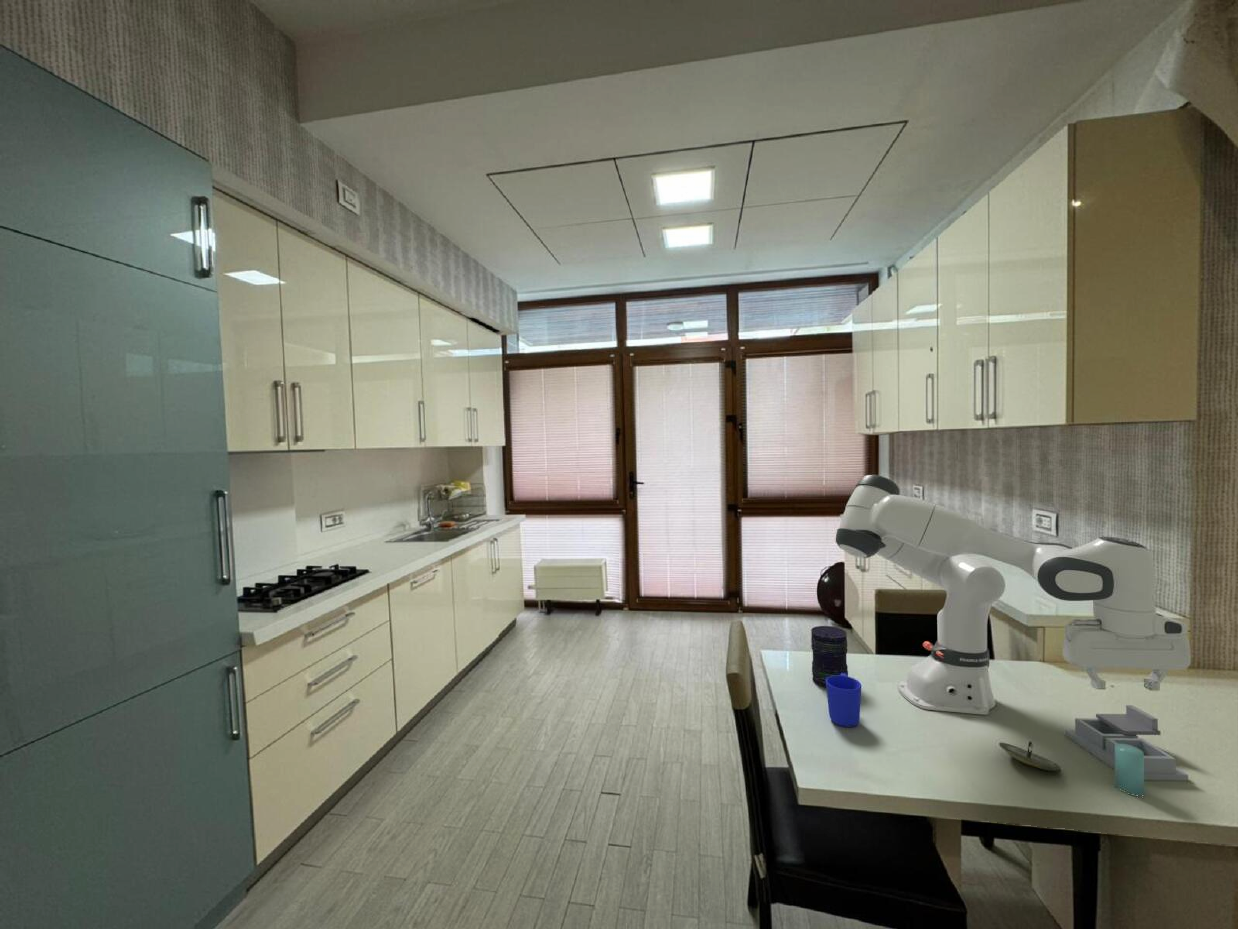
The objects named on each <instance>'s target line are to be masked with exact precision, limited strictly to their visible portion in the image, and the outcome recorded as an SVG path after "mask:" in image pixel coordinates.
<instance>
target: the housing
mask: <svg viewBox="0 0 1238 929" xmlns="http://www.w3.org/2000/svg"><path fill="white" fill-rule="evenodd" d="M1074 721H1075V722H1074V723H1075V724H1074V725H1075V726H1074V727H1075V729H1065V732H1064V733H1065V735H1064V736H1066V737H1067V738H1068V739H1070V740H1072V741H1073V742H1074V743H1076V744H1077V745H1078V746H1080V747H1081V748H1083V749H1084V750H1086V751H1087V752H1089V753H1090V754H1091V755H1093V756H1095V757H1096V758H1098V760H1100V761H1102V762H1103V763H1104V764H1106V765H1107V766H1108V767H1110V768H1112V769H1114V771H1115V744H1118V743H1121V744H1127V745H1131V746H1134V747H1136V748H1138V749H1140V750H1142V751H1143V753H1144V781H1175V782H1176V781H1185V782H1186V781H1187V782H1188V781H1189V774H1188V773H1186V772H1184V771H1182V769H1180V768H1178V767H1177V761H1176V760H1177V759H1176V758H1175V757H1173V755H1170V754H1169V753H1167V752H1165V751H1163V750H1162V749H1160V748H1159V747H1157V746H1155V745H1154V744H1151V742H1149V741H1147V740H1146V739H1144V738H1142V737H1141V738H1140V737H1139V735H1124V734H1123V733H1121V732H1119V731H1118V730H1116V729H1114V728H1113V727H1111V726H1110V725H1108V724H1106V723H1105V722H1103V721H1101V720H1100V719H1098V718H1090V717H1089V718H1085V717H1084V718H1082V717H1081V718H1079V717H1077V718H1076V717H1075V718H1074Z"/></svg>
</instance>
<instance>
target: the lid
mask: <svg viewBox="0 0 1238 929" xmlns="http://www.w3.org/2000/svg"><path fill="white" fill-rule="evenodd" d="M998 745H999V747H1000V748H1001V749H1002V750H1003V751H1005V752H1006V753H1007V754H1008V755H1009V756H1010V757H1012V758H1013V759H1015V760H1017V761H1020V762H1021V763H1023V764H1025V765H1029V766H1032V767H1035V768H1037V769H1041V770H1045V771H1054V772H1058V773H1061V772H1062V767H1060V765H1058V764H1057V763H1055V762H1053V761H1051V760H1050V759H1047V758H1045V757H1044V756H1040V755H1038V754H1035V753H1033V749H1031V750H1030V748H1033V746H1034V745H1033V742H1032V741H1031V740H1030V741H1028V747H1027V750H1026V749H1023V748H1021V747H1018V746H1015V745H1014V744H1013V745H1012V744H1009V743H1006V742H999V744H998Z"/></svg>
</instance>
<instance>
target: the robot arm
mask: <svg viewBox="0 0 1238 929" xmlns="http://www.w3.org/2000/svg"><path fill="white" fill-rule="evenodd" d="M844 508H845V510H844V511H843V514H842V516H841V520H840V524H839V527H838V528H837V530H836V533H835V534H836V535H835V543H836V545H837V546H838V548H840V549H841V550H843V552H845V553H847V554H848V555H850V556H852V557H857V558H861V559H862V558H863V559H869V558H871V557H873V556H875V555H878V556H879V557H881V558H883V559H885V560H887V561H889V562H891V563H893V564H895V565H897V566H899V567H901V568H903V569H904V570H907V571H909V572H910V573H912V574H913V575H914V574H915V575H916V576H918V577H920V578H922V579H924V580H926V581H928V582H930V583H931V584H933V585H936V586H937V587H939V588H941V589H942V590H945V592H946V598H945V602H944V605H943V607H942V609H940V610H939V611H938V612H937V616H936V617H937V618H936V620H937V622H936V624H937V626H936V627H937V640H936V641H935V644H934V645H933V643H931V642H930V641H928V640H927V641H924V642H922V646H923V647H924V649H926V650H927V651H931V653H930V655H928V656H927V657H925V658H924V659H922V660H920V661H919V662H917V663H916V664H914V665H911V666H910V668H909V669H908V672H907V673H908V674H907V677H906V681H900V682H898V685H897V689H898V691H899V693H900V694H901V695H902V696H903V697H904V698H905V699H906V700H907V701H908V702H910V703H911V704H913V705H914V706H915V707H918V708H920V709H922V710H928V711H929V710H931V711H940V712H951V713H952V712H953V713H961V714H972V715H985V716H987V715H989V713H990V710H991V709H994V707H995V706H996V705H997V702H996V700H995V697H994V693H993V691H992V690H993V689H992V686H991V681H990V675H989V674H990V672H989V667H990V649H989V648H988V619H989V615H990V611H991V608H992V606H993V604H994V603H995V602H996V601H999V599H1001V597H1002V596H1003V594H1004V592H1005V591H1006V590H1005V589H1006V581H1005V578H1004V576H1003V575H1002V573H1001V572H1000V571H999V570H998V569H996V568H995V566H992V565H991V564H989V563H988V562H986V561H984V560H982V559H979V558H976V557H974V556H970V555H978V556H983V557H987V558H989V559H993V560H996V561H998V562H1002V563H1005V564H1007V565H1010V566H1014V567H1015V568H1019V569H1020V570H1023V571H1024V572H1026V573H1027V574H1028V575H1030V576H1031V577H1032V578H1033V579H1035V581H1036V582H1037V584H1038V585H1039V587H1040V588H1041V589H1042V590H1043V591H1044V592H1045V593H1046V594H1048V595H1050V596H1052V597H1053V598H1055V599H1058V600H1061V601H1065V602H1066V601H1067V602H1068V601H1069V602H1086V601H1087V602H1088V601H1092V613H1093V614H1092V616H1093V617H1092V619H1078V618H1077V619H1072V621H1070V622H1068V623H1067V624H1065V627H1064V641H1063V646H1062V657H1063V659H1064V660H1065V661H1066V662H1067V663H1068V664H1071V665H1072V666H1074V667H1075V668H1079V669H1081V668H1082V669H1084V671H1085V673H1086V674H1087V675H1088V676H1089V678H1090V686H1091V687H1092V688H1093V689H1095V690H1106V689H1107V687H1106V684H1107V683H1106V682H1107V681H1106V680H1104V679H1102V678H1100V677H1099V675H1098V674H1099V673H1100V672H1101V671H1100V669H1123V670H1124V669H1129V670H1134V669H1135V670H1150V671H1151V673H1150V674H1149V676H1148V677H1147V678H1143V686H1144V688H1145V689H1146V690H1149V691H1153V692H1154V691H1155V692H1158V691H1160V690H1161V683H1162V682H1163V680H1165V678H1166V676H1167V675H1168V670H1178V671H1179V670H1181V671H1182V670H1187V669H1188V667H1189V666H1191V662H1192V661H1191V660H1192V659H1191V658H1192V656H1191V645H1190V641H1189V639H1188V637H1187V636H1185V635H1186V634H1187V633H1188V625H1187V624H1186V623H1184V622H1181V621H1179V620H1177V619H1174V618H1171V617H1168V616H1165V615H1163V614H1159V613H1157V608H1156V604H1155V603H1154V598H1153V596H1154V592H1155V590H1156V572H1155V564H1154V558H1153V556H1152V552H1151V551H1150V549H1148V548H1147V547H1146V546H1145V545H1143V544H1141V543H1138V542H1136V541H1133V540H1129V539H1125V538H1119V537H1112V536H1099V537H1097V538H1096V539H1094V540H1092V541H1090V542H1088V543H1085V544H1082V545H1080V546H1078V547H1074V548H1073V547H1071V546H1070V545H1066V544H1064V543H1059V542H1036V541H1035V542H1031V541H1028V540H1024V539H1020V538H1017V537H1015V536H1011V535H1009V534H1006V533H1001V532H999V531H996V530H993V529H990V528H987V527H985V526H984V525H980V524H979V523H978V522H976V521H974V520H972V519H970V518H969V517H966V516H964V515H962V514H961V513H959V512H958V511H955V510H952V509H950V508H948V507H945V506H943V505H940V504H938V503H937V504H935V503H933V502H930V501H928V500H927V501H926V500H923V499H919V498H917V497H911V496H905V495H901V494H900V487H899V486H898V485H897V483H896V482H894V481H893V480H892V479H890V478H888V477H885V476H883V475H882V476H881V475H880V474H879V475H878V474H866V475H864V476H862V477H860V479H859V481H858V482H857V483H856V484H855V488H854V490H853V492H852V494H851V496H850V497H849V499H848V501H847V503H846V505H845V507H844ZM968 554H969V555H968Z"/></svg>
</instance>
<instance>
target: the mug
mask: <svg viewBox="0 0 1238 929" xmlns="http://www.w3.org/2000/svg"><path fill="white" fill-rule="evenodd" d="M825 689H826V697H827V699H826V700H827V707H828V714H829V715H828V716H829V718H830V720H831V721H832V722H833V723H834V724H836V725H838V726H840V727H844V728H845V727H846V728H852V727H856V726H857V725H858V724H859V723H860V722H859V721H860V717H861V716H860V715H861V714H860V713H861V699H862V684H861V682H860V681H859V680H858V679H856V678H854V677H851V676H849V675H848V676H847V674H845V673H841V675H834V676H830V677H828V678H827V679H826V688H825Z"/></svg>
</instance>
